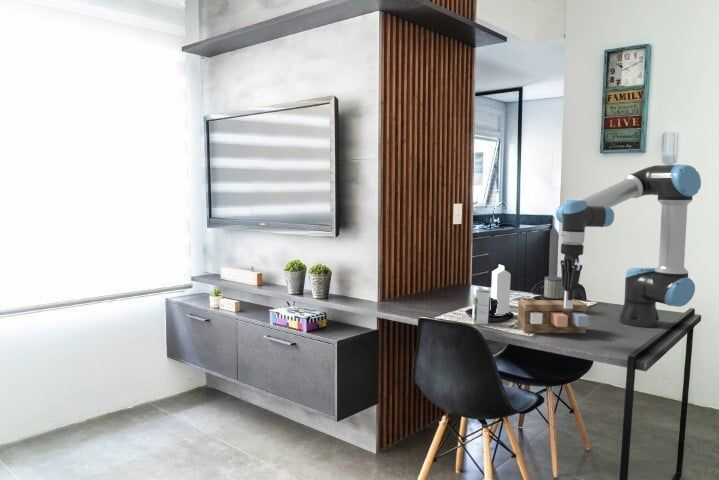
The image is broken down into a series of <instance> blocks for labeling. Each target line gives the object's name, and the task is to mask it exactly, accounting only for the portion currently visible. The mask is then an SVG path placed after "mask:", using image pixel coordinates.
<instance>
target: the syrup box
mask: <svg viewBox="0 0 719 480" xmlns="http://www.w3.org/2000/svg"><path fill="white" fill-rule="evenodd" d="M490 296H491V290H490V289H489V288H488V287H486V286H474V287H473V299H472V314H471V321H472V323H473V324H474V325H488V324H489V315H490V314H489V311H490Z"/></svg>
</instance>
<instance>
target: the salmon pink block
mask: <svg viewBox="0 0 719 480" xmlns="http://www.w3.org/2000/svg"><path fill="white" fill-rule="evenodd" d="M549 322H550V323H552V324H553V325H555V326H556V327H567V322H568V316H567V315H565V314H563V313H561V312H560V311H550V315H549Z"/></svg>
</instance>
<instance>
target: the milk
mask: <svg viewBox="0 0 719 480" xmlns="http://www.w3.org/2000/svg"><path fill="white" fill-rule="evenodd" d="M511 276H512V275H511V273H510V272H509V271H507V270H506V269H505V265H502V264H498V267H497V268H496V269H494V270H492V271H491V287H490V289H491V290H490V299H491V298H493V299H496V300H497V302H498V304H497V309H496V313H495V314H506V313H509V314H510V301H511V300H510V299H511V298H510V295H511Z"/></svg>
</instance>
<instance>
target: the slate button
mask: <svg viewBox="0 0 719 480" xmlns="http://www.w3.org/2000/svg"><path fill="white" fill-rule="evenodd" d="M589 319H590V316H589V315H588V314H587V315H585V314H584V313H582V312H580V311H570V323H572V324H574V325H576V326H577V327H586V328H588V327H589Z"/></svg>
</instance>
